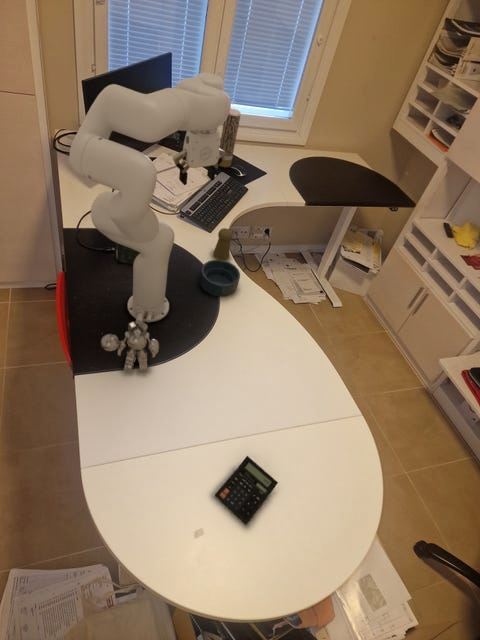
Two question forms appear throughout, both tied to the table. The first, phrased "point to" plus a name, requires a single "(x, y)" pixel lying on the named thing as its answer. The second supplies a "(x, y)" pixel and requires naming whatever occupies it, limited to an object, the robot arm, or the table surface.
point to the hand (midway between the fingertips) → (196, 180)
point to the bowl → (219, 277)
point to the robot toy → (132, 345)
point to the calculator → (246, 490)
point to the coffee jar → (126, 254)
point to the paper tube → (229, 136)
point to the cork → (223, 244)
